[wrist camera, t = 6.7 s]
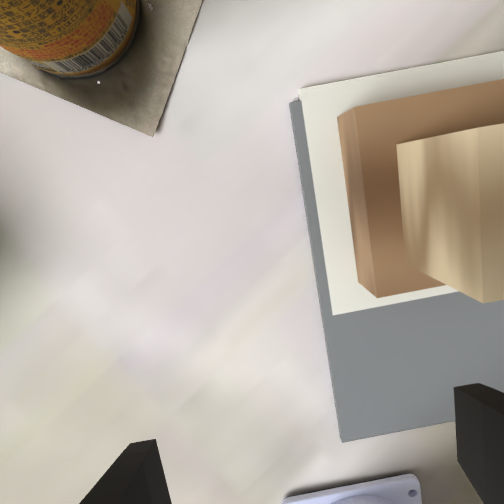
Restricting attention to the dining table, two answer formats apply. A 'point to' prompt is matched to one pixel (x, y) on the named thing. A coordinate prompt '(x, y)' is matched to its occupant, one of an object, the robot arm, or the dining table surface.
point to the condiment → (99, 52)
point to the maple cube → (456, 209)
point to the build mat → (396, 306)
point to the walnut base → (387, 177)
